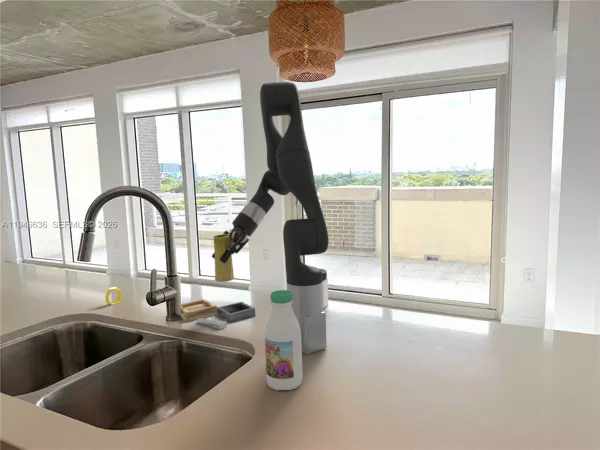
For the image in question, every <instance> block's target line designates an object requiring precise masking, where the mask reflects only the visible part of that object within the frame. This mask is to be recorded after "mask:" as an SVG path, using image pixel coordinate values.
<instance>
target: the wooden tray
mask: <svg viewBox="0 0 600 450" xmlns="http://www.w3.org/2000/svg"><path fill="white" fill-rule="evenodd" d="M180 304H181V314H182V317H183V318H182V320H184V321H186V322H191V321H194V320H195V321H196V320H197V319H199V318H207V317H210V316H215V315H217V307H218V306H217V305H215V303H214V304H213V303H212V302H210V301H208V300H207V299H205V298H204V299H200V300H194V301H190V302H185V303H180Z"/></svg>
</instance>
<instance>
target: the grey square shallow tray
mask: <svg viewBox="0 0 600 450" xmlns="http://www.w3.org/2000/svg"><path fill="white" fill-rule="evenodd" d="M216 315H217V316H218V317H221V318H222V319H224V320H225V321H226V322H229V323H231V322H232V323H233V322H236V321H240V320H243V319H247V318H251V317H255V316H256V308H255V307H253V306H251V305H250V304H247V303H245V302H244V301H239V302H235V303H229V304H227V305H222V306H217V314H216Z"/></svg>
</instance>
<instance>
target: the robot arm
mask: <svg viewBox="0 0 600 450" xmlns="http://www.w3.org/2000/svg"><path fill="white" fill-rule="evenodd" d="M259 98H260V99H259V100H260V111H261V118H262V119H261V120H262V126H263V130H264V132H263V133H264V137H265V144H266V164H267V170H266V172H264V174H263V176H262V179H261V181H260V183H259V185H258V188H257V191H256V192H255V194H254V195H253V196H252V197H251V199H250V200H249V202H248V203H246V205H244V206H243V208H242V209H241V210H240V212H239V213H238V214H237V216H236V217H235V218H234V219H233V221H232V222H231V223H232V224H231V225H232V226H233V228H232V229H230V231H228V230H225V231H224V232H223V234H227V235H230V242H229V246H228V248H227V250H226V251H225V252H224V253H223V255H222V256H221V257H220V261H222V262H223V263H226V262H227V260H228V259H229V258H230V256H231V255H234V254H236V255H237V254H238V253H239V252H240V251H241V250H242V249H243V248H244V247H245V246H246V244H247V243H248V242H249V241H250V239H249V238H248V237H251V236H252V235H253V234H254V232H255V231H256V230H257V229H258V227H259V226H260V224H261V223H262V222H263V220H264V218H265V217H266V216H267V214H268V213H269V211H270V210H271V209H272V208H273V206H274V205H275V200H274V197H273V196H272V195H271V194H270V193H269V191H272V192H274V193H276V194H278V195H280V196H286V195H288V194H289V193H291V194H292V195H293V196H294V197H295V198H296V199H297V201H298V202H299V204H300V205H301V206H302V207H301V208H303V211H304V213H305V216H306V218H295V219H293V218H292V219H287V220H286V221H285V223H284V225H283V230H282V238H283V239H282V240H283V251H284V262H285V263H284V264H285V275H286V290H287V291H290V292H292V296H293V299H292V301H293V303H292V309H293V312H294V314H295V316H296V318H297V320H298V323H299V326H300V331H301V348H302V354H306V355H311V354H312V353H316V352H319V351H321V350H324V349H327V347H328V346H327V314H326V311H324V309H323V275H322V271H321V270H320V269H321V268H320V267H319V268H318V267H316V266H313V265H308V264H305V263H303V262H302V260H301V256H312V255H320V254H321V255H322V254H324V253H326V252H327V251H328V248H329V231H328V228H327V224H326V220H325V216H324V212H323V209H322V207H321V206H322V205H321V202H320V199H319V196H318V195H319V194H318V192H317V187H316V182H315V176H314V170H313V164H312V159H311V153H310V150H309V146H308V140H307V136H306V133H305V131H306V130H305V127H304V126H305V125H304V120H303V113H302V104H301V97H300V92H299V88H298V85H297V84H296V83H295V81H274V82H266V83H265V82H264V83H263V84H262V85H261V87H260V91H259ZM281 116H282V117H283V116H289V117H290V119H289V122H288V123H289V124H288V126H287V129H286V130H285V132H284V135H282V133H281V132H280V131H279V129H278V127H277V126H276V124H275V122H274V119H273V117H281ZM211 258H213V259H214V260H215V252H213V253H212V255H211Z"/></svg>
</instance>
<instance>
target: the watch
mask: <svg viewBox="0 0 600 450" xmlns="http://www.w3.org/2000/svg"><path fill="white" fill-rule="evenodd" d="M114 291H117V295H118V296H117V299H116V301H114V302H112V303H111V301H110V294H111V293H112V292H114ZM105 293H106V294H105V295H104V296H105V302H106V303H107V304H108V305H111V306H114V305H116V304H119V303H120V302H121V300H122V296H123V294H122V291H121V289H120V288H118V287H117V286H112V287H109V288H108V290H107V291H106V292H105Z"/></svg>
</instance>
